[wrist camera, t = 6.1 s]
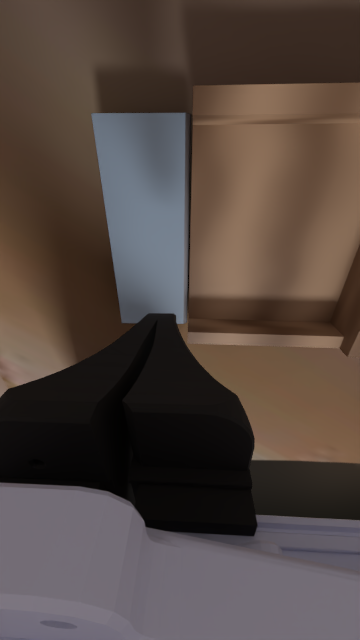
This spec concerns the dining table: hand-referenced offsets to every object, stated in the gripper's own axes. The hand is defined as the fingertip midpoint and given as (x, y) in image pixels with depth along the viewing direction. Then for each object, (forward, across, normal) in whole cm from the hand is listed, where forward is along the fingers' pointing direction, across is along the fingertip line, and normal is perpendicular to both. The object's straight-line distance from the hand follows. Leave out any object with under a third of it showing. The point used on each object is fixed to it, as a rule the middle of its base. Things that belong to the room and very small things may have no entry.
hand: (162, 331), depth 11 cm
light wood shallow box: (+9, -7, -3) cm, 12 cm away
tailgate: (+7, -1, -3) cm, 7 cm away
